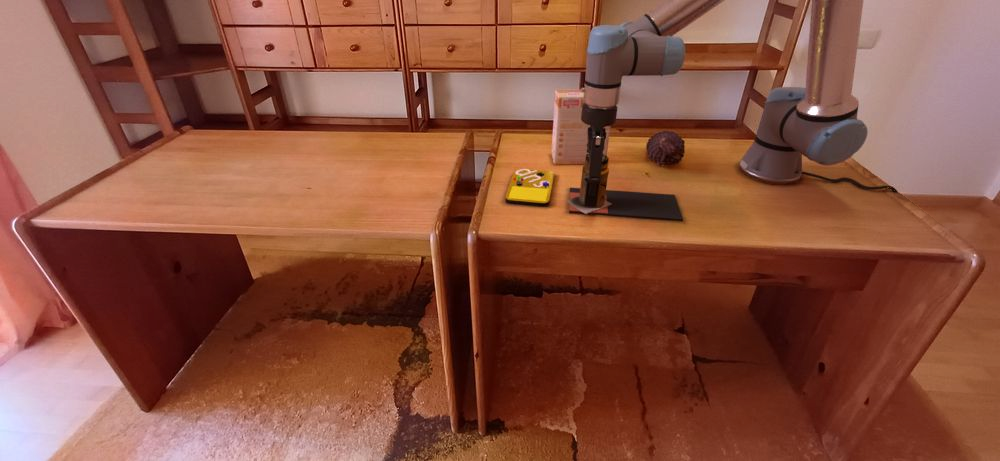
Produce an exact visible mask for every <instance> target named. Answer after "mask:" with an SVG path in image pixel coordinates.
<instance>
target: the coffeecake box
mask: <svg viewBox="0 0 1000 461" xmlns="http://www.w3.org/2000/svg"><path fill="white" fill-rule="evenodd" d="M554 92H555V94H554V108H553V121H552V122H553V124H552V140H551V157H552V162H553V164H554V165H584V164H585V160H586V159H585V158H586V154H589V153H587V143H588V140H587V138H588V134H587V131H588V127H590V125H587V124H585V123H583V122H582V120H581V113H582V105H583V104H584V102H583V96H584V92H581V88H580V89H578V88H575V89H555V91H554ZM611 126H612V125H611ZM611 126H606V127H604V128H606V139H605V143H604V151H603V154H605V155H606V156H607V157H608V151H609V150H608V149H609V142H610V141H609V140H610V133H611Z"/></svg>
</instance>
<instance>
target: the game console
mask: <svg viewBox="0 0 1000 461" xmlns="http://www.w3.org/2000/svg"><path fill="white" fill-rule="evenodd" d="M554 179H555V172H553V171H552V170H544V169H543V170H542V169H541V170H540V169H531V168H529V169H528V168H521V169H517V170H516V171H514V172H513V173H512V176H511V179H510V182H509V185H508V188H507V190H506V194H505V197H504V198H505V199H504V200H505V203H507V204H509V205H515V206H516V205H518V206H528V207H529V206H530V207H539V208H540V207H541V208H545V207H548V206H549V205H550V201H551V196H552V190H553V185H554Z"/></svg>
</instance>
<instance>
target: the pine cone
mask: <svg viewBox="0 0 1000 461" xmlns="http://www.w3.org/2000/svg"><path fill="white" fill-rule="evenodd" d="M685 143H686V141H685V140H684V139H683V137H682V136H680V135H679V134H678V133H676V132H674V131H672V130H671V131H669V130H662V131H659V132H657V133H654V134H653V135H652V136H650V138H648V140H647V142H646V146H645V149H646V155H647V156H648V157H649V160H651V161H653V162H654V163H655V164H657V165H658V166H659V167H672V166H676V165H679V164H680V162H681V161H682V160H683V158H684V156H685V155H684V154H685V153H686V152H685V147H686V146H685Z"/></svg>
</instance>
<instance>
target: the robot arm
mask: <svg viewBox="0 0 1000 461" xmlns="http://www.w3.org/2000/svg"><path fill="white" fill-rule="evenodd" d="M724 1H725V0H663V1H661V2H660V3H659V4H658V5H656V6H654V7H653V8H652V9H650V10H648V11H647V12H646V13H645V14H644V15H642V16H640V17H638V19H636V20H634V21H626V22H623V23H621V24H620V25H616V24H614V25H612V24H600V25H595V26H594V27H592V29H591V30H590V33H589V38H588V43H587V49H586V63H585V64H586V65H585V75H584V76H585V77H584V87H581V88H580V89H581V92H584V96H583V102H584V104H583V105H582V113H581V120H582V122H583V123H585V124H587V125H590V127H588V131H587V134H588V138H587V140H588V143H587V153H589V154H590V159H589V173H588V178H585V180H584V181H587V184H586V193H585V202H584V206H591V207H596V206H597V198H598V190H599V183H600V182H601V168H602V157H603V151H604V143H605V139H606V128H604V127H606V126H613V125H615V123H616V122H617V116H618V106H617V105H619V103H620V96H621V88H622V79H623V77H633V76H635V77H640V76H642V77H643V76H645V77H646V76H651V77H652V76H653V77H654V76H660V77H663V76H671V75H672V76H673V75H675V74H678V73H679V72H680V70H682V67H683V65H684V63H685V59H686V58H685V57H686V45H685V42H684V40H683V39H682V37H680V36H676V34H678V33H679V32H681V31H682V30H683V29H685V28H686V27H687V26H689V25H691V24H692V23H693V22H695V21H697V20H698V19H699V18H701V17H702V16H704V15H705V14H707V13H708V12H710V11H711V10H713V9H714V8H715V7H718V6H719V5H720V4H721V3H723V2H724ZM863 6H864V0H811V8H810V9H811V10H810V20H809V21H810V22H809V24H810V25H809V34H808V36H809V37H808V50H807V63H806V76H805V87H803V86H801V87H799V86H779V87H775V88H773V89H772V90H770V91H769V93H768V95H767V98H766V100H765V101H764V107H763V110H762V113H761V116H760V121H759V123H758V126H757V131H756V133H755V137H754V140H753V142H752V144H751V145H750V146H749V147H748V149H747V150H746V152H745V153H744V155H743V156H742V157H741V159H740V161H739V165H738V170H739V171H740V172H741V173H742V174H743V175H744V176H746V177H748V178H749V179H752V180H754V181H757V182H760V183H764V184H769V185H770V184H771V185H777V186H778V185H780V186H783V185H784V186H785V185H793V184H797V183H798V182H799V181H800V180H801V177H802V175H804V176H809V177H813V178H817V179H821V180H824V181H826V182H833V183H837V182H841V181H846V182H847V181H848V182H851V183H853V184H854V185H856V186H858V187H860V188H862V189H865V190H871V191H872V190H882V189H889V190H891V191H892V192H893V193H898V189H896V188H895V187H894V186H891V185H880V186H879V185H878V186H868V185H864V184H862V183H860V182H858V181H856V180H855V179H853V178H851V177H839V178H829V177H826V176H822V175H819V174H815V173H811V172H806V171H803V156H804V157H805V158H807V159H808V160H809V161H812V162H814V163H816V164H819V165H821V166H835V165H838V164H841V163H844V162H845V161H847V160H849V159H850V158H851V157H853V156H854V155H855V154H856V153H857V152H858V151H859V150H861V148H862V147H863V146H864V144H865V142H866V140H867V138H868V133H869V132H868V127H867V125H866V123H864V121H863V120H861V119H858V113H859V112H858V111H859V106H860V104H859V103H860V102H859V99H858V98H857V97H855V96H854V95H853V93H852V92H853V86H854V78H855V69H856V63H857V55H858V47H859V38H860V32H861V31H860V30H861V23H862V17H863V16H862V14H863ZM674 35H675V36H674ZM587 155H588V154H586V156H587ZM887 187H889V188H887ZM890 187H891V188H890ZM894 190H895V191H894Z"/></svg>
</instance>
